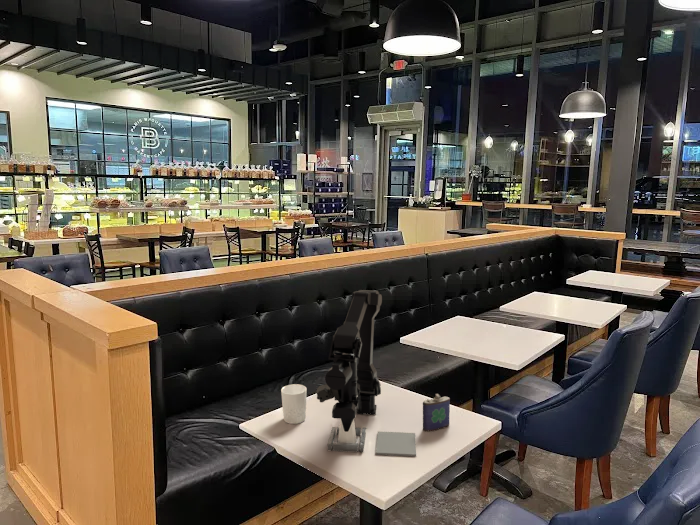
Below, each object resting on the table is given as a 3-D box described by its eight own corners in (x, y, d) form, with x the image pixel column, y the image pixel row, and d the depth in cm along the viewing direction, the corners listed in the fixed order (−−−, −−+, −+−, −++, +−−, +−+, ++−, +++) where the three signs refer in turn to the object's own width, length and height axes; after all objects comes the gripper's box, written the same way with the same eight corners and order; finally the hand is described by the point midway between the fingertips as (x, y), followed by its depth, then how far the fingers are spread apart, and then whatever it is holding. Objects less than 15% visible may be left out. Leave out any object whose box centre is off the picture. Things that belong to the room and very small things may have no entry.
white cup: (277, 419, 165) (276, 389, 164) (296, 411, 171) (295, 382, 169) (292, 427, 160) (291, 396, 158) (312, 419, 165) (311, 389, 163)
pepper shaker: (345, 449, 147) (345, 412, 145) (334, 441, 151) (333, 405, 149) (360, 442, 150) (360, 406, 148) (348, 435, 154) (348, 400, 153)
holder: (332, 433, 156) (332, 426, 156) (365, 434, 155) (365, 428, 155) (327, 450, 146) (327, 443, 146) (363, 452, 145) (363, 445, 145)
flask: (446, 422, 162) (447, 390, 160) (451, 426, 159) (452, 393, 158) (420, 428, 158) (421, 395, 156) (426, 433, 156) (426, 399, 154)
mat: (377, 433, 156) (377, 431, 156) (415, 434, 155) (415, 432, 154) (375, 454, 144) (375, 452, 144) (416, 456, 143) (416, 454, 143)
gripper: (323, 363, 157) (324, 412, 160) (312, 388, 139) (314, 443, 141) (360, 364, 156) (360, 413, 159) (354, 389, 138) (355, 444, 140)
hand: (347, 427), depth 150 cm, fingers closed on pepper shaker, 4 cm apart
